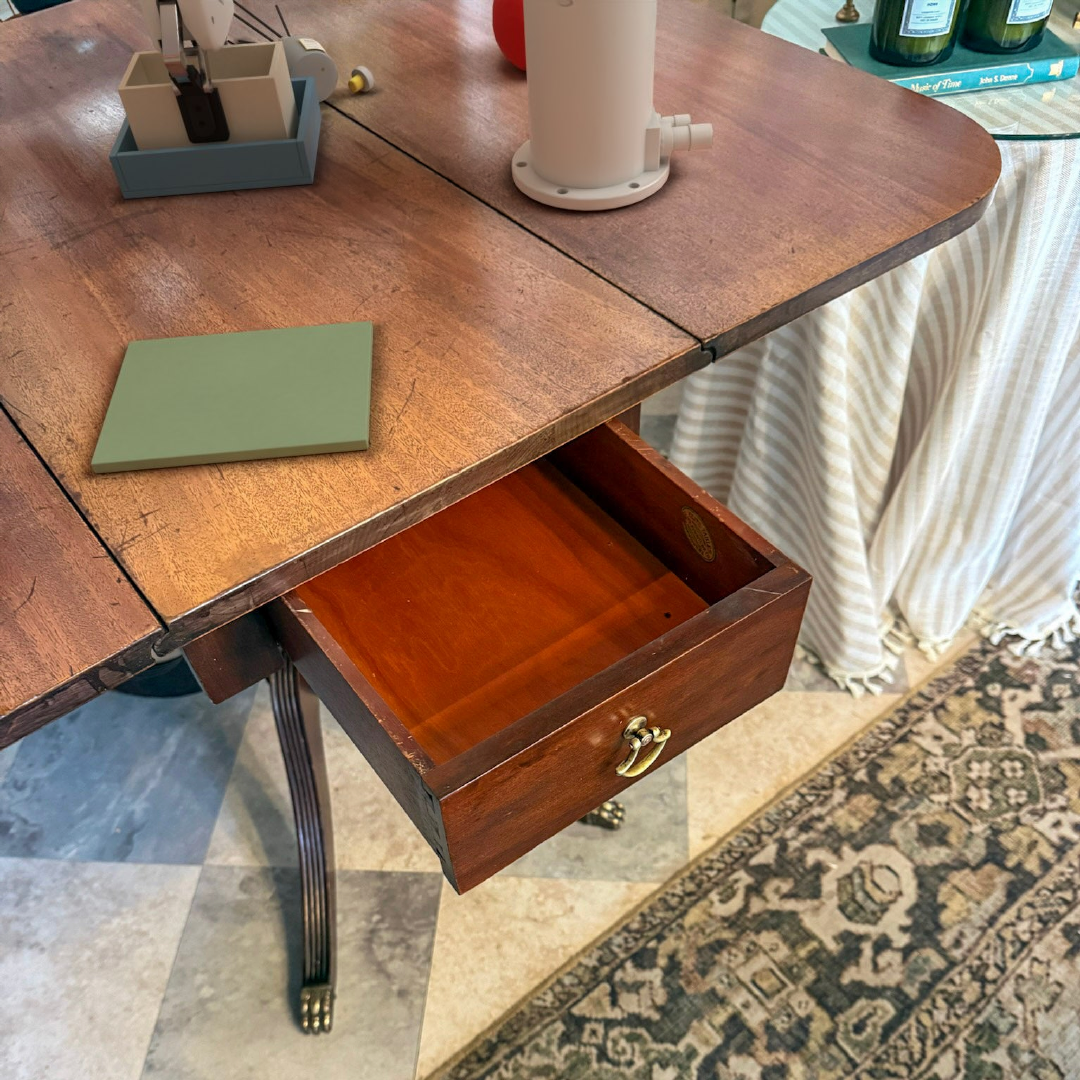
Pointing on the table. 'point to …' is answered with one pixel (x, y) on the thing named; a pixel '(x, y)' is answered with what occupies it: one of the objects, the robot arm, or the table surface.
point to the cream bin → (244, 87)
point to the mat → (239, 397)
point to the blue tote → (222, 159)
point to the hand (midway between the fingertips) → (216, 116)
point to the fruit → (510, 30)
